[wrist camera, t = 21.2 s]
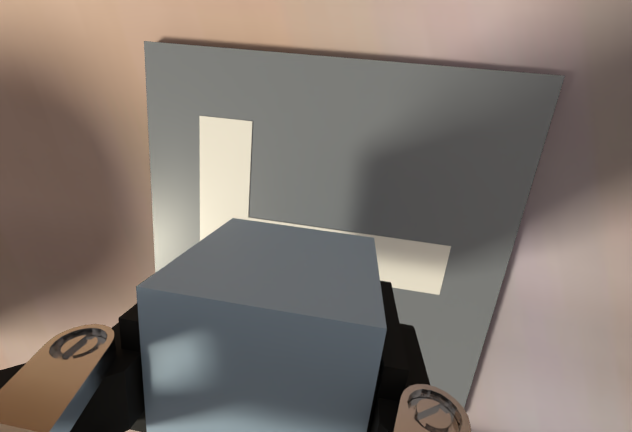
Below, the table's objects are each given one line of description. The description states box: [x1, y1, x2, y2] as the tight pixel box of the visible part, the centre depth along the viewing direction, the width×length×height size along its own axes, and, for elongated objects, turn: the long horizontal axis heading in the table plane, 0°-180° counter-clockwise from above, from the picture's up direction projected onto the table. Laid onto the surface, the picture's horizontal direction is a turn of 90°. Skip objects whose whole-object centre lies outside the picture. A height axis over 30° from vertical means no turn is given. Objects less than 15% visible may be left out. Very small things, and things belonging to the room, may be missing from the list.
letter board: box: [144, 41, 565, 408], centre depth 16 cm, size 18×18×1 cm
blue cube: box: [136, 218, 387, 432], centre depth 9 cm, size 5×5×5 cm
